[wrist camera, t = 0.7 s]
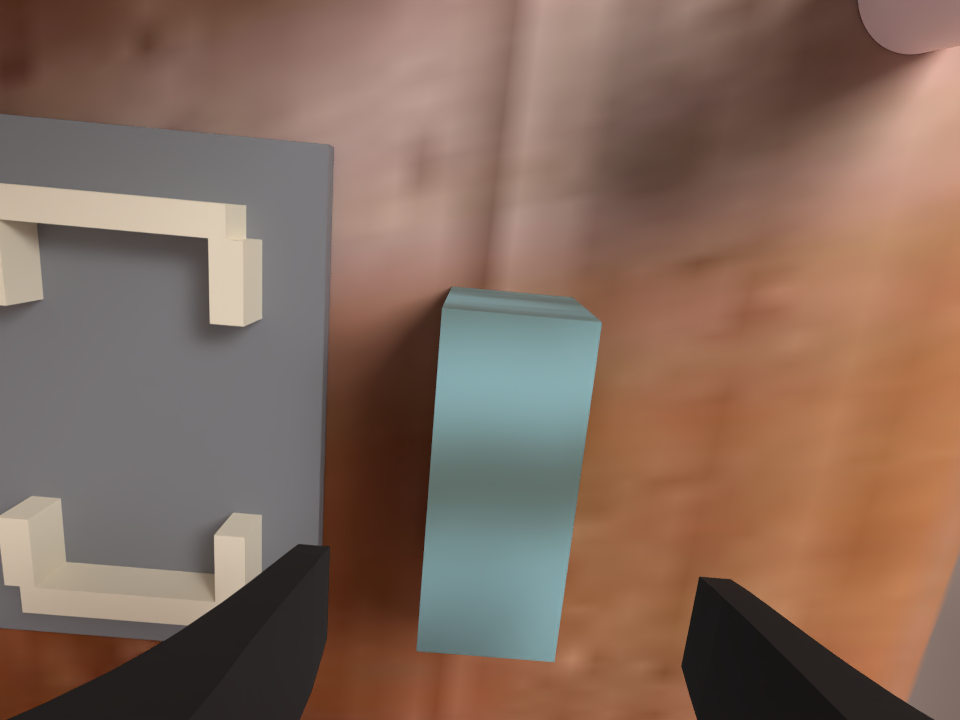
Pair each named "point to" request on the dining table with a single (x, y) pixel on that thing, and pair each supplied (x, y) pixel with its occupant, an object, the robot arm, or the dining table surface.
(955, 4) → the smoothie
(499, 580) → the teal block
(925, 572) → the dining table surface
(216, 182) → the jig
